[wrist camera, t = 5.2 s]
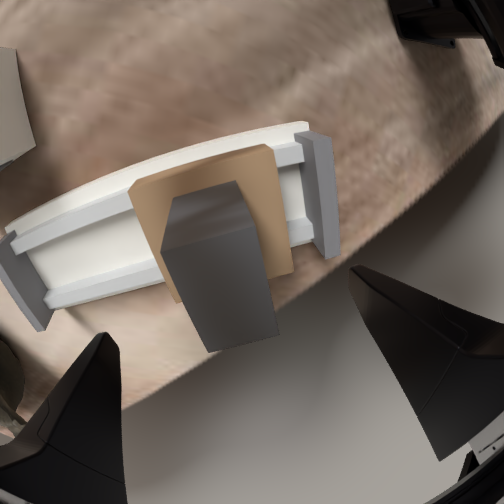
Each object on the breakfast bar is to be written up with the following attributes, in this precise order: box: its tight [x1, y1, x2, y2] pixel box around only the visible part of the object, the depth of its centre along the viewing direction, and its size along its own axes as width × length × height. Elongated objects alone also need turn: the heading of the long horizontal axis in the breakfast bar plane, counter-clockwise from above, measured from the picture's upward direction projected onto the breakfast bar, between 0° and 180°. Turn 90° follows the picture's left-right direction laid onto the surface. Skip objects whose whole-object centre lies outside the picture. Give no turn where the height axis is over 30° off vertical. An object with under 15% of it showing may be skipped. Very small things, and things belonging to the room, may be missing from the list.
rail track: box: [0, 121, 340, 332], centre depth 16 cm, size 22×8×4 cm, turn 102°
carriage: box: [127, 143, 294, 353], centre depth 13 cm, size 7×7×7 cm
